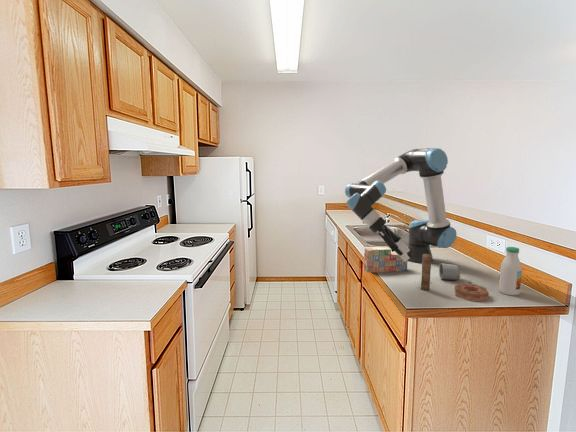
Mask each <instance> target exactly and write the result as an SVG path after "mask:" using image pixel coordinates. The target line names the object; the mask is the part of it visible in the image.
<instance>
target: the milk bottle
mask: <svg viewBox="0 0 576 432" xmlns="http://www.w3.org/2000/svg"><path fill="white" fill-rule="evenodd" d="M505 248H506V249H505V251H506V252H505V253H506V255H505V258H504V259H503V260H502V262H501V264H500V269H499V270H500V271H499V283H498V291H499V293H501V294H503V295H506V296H515V297H516V296H519V295H520V293H521V284H522V273H523V268H522V263H521V260H520V258H519V254H520V248H519V247H516V246H507V247H505Z"/></svg>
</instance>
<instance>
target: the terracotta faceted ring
mask: <svg viewBox="0 0 576 432" xmlns="http://www.w3.org/2000/svg"><path fill="white" fill-rule="evenodd" d="M454 295H455V296H456V297H458V298H461V299H463V300H466V301H474V302H482V301H485V300H489V291H488V289H487V288H486V287H484V286H481V285H478V284H475V283H472V284H469V283H458V284H455V285H454Z"/></svg>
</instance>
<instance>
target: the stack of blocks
mask: <svg viewBox="0 0 576 432" xmlns="http://www.w3.org/2000/svg"><path fill="white" fill-rule="evenodd" d="M363 254H364V255H363V256H364V257H363V258H364V259H363V260H364V262H363V263H364V269H363V270H365V272H366V273H389V272H393V271H394V272H408V260H407V261H406V262H404V261H403V260H402V259H401V258H400V257H399V255H398V254H397V253H396V252H395V251H394V252H392V251H391V248H390V247H389V246H371V247H370V246H368V247H367V246H366V247H364V253H363ZM407 255H408V254H407Z"/></svg>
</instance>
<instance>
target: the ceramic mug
mask: <svg viewBox="0 0 576 432" xmlns="http://www.w3.org/2000/svg"><path fill="white" fill-rule="evenodd" d="M438 274H439V278H440V280H448V281H449V280H451V281H457V280H459V279H460V278H461V268H460V265H458V264H457V265H456V264H451V263H443V262H442V263H440V264H439V270H438Z"/></svg>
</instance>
